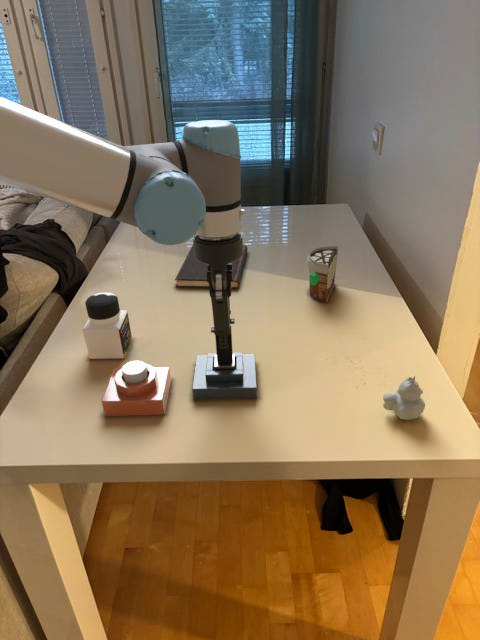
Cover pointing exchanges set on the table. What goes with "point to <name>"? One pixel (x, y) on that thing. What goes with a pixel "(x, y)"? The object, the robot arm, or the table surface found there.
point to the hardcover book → (205, 272)
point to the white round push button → (134, 372)
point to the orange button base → (137, 393)
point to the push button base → (225, 378)
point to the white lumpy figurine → (406, 400)
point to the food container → (322, 271)
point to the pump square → (224, 365)
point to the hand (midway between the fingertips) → (224, 359)
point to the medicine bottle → (106, 327)
